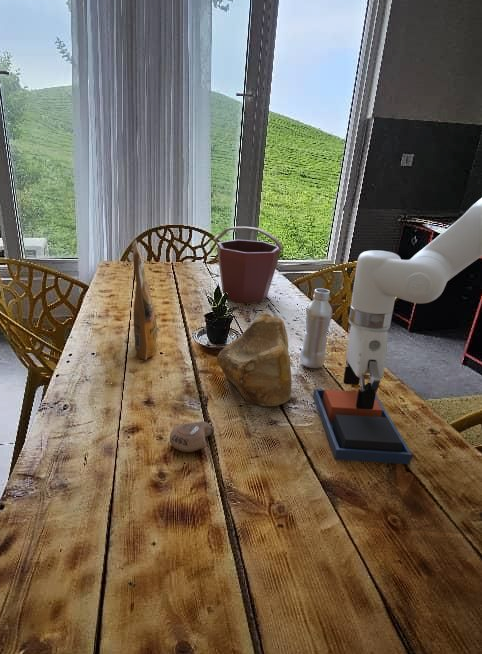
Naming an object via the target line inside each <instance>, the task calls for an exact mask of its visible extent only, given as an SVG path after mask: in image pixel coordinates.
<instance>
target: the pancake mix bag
mask: <svg viewBox="0 0 482 654" xmlns="http://www.w3.org/2000/svg"><path fill="white" fill-rule="evenodd" d="M131 247H132V252H133V253H132V254H133V255H132V256H133V258H132V259H133V260H132V261H133V271H134V277H135V289H134V290H135V291H134V301H133V335H134V348H135V352H136V353H135V354H136V355H135V356H136V357H137V358H138V359H141V360H144V361H147V360H148V359H149V358H152V357H154V355H155V353H156V346H157V338H158V323H157V317H156V311H155V307H154V302H153V297H152V292H151V288H150V284H149V280H148V277H147V276H148V275H147V272H146V269H145V268H146V267H145V264H144V260H143V258H142V254H141V251H140V248H139V247H138V244H137V239H135V240H134V241H133V243H131Z"/></svg>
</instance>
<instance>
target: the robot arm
mask: <svg viewBox="0 0 482 654" xmlns="http://www.w3.org/2000/svg"><path fill="white" fill-rule="evenodd" d="M481 257H482V197H481V198H479V199H478V200H477V201H476V202H475V203H473V204H472V205H471V206H470V207H469V208H468V209H467V210H466V211H465V213H463V215H461V216H460V217H459V218H458V219H457V220H456V221H455V222H453V223H452V224H451V225H450V226H448V227H447V228H446V229H445V230H444V231H442V232H441V233H440V234H439V235H437V236H436V237H435V238H434V239H432V240H431V241H430V242H428V244H426V245H425V246H424V247H423V248H422V249H420V250H419V251H418V252H416V253H415V254H414V255H413V256H412V257H411V258H409V259H402V258H401V256H400V255H399V254H397V253H395V252H392V251H386V250H376V249H375V250H374V249H373V250H372V249H371V250H366V251H365V250H364V251H363V252H361V253H360V254H359V255H358V258H357V261H356V268H355V274H354V280H353V281H354V282H353V288H352V293H351V303H350V309H349V315H348V323H349V325H350V328H349V334H348V339H347V346H346V355H345V356H346V360H345V368H344V375H343V380H342V382H343V384H344V385H351V386H352V385H355V386H356V385H357V386H360V388H359V389H357V391H358V395H357V401H356V408H357V409H373V407H374V401H375V396H376V395H377V393H378V389H379V387H380V386H379V385H380V384H381V380H382V379H383V378H384V375H385V369H386V361H387V353H388V340H389V333H388V331H389V329H390V328H391V325H392V319H393V318H392V317H393V313H394V307H395V302H396V298H398V299H400V300H402V301H406V302H409V303H414V304H419V305H420V304H429V303H431V302H433V301H435V300H437V299H438V298H439V297H440V296H441V295H442V293H444V290H445V288H446V286H447V283H448V281H450V280H451V279H453V278H454V277H455V276H457V275H458V274H459V273H460V272H462V271H463V270H465V269H466V268H467V267H469V266H470V265H471V264H473V263H474V262H476V261H477V260H478V259H480V258H481ZM366 380H369V382H367V383H366Z"/></svg>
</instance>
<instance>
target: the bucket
mask: <svg viewBox="0 0 482 654" xmlns="http://www.w3.org/2000/svg"><path fill="white" fill-rule="evenodd" d="M234 230H248V231H249V230H250V231H255V232H258V233H260V234H261V235H264V236H265V237H267V238H268V239H270V240H271V241H273V243H274V244H273V243H270V242H266V241H263V240H262V241H261V240H249V239H231V240H230V239H229V240H225V241H218V240H220V239H221V238H223V237H224V236H225V235H226V234H227V233H228V232H230V231H234ZM213 240H214V243H215V245H216V246H217V249H216V251H217V260H218V268H219V275H220V282H221V283H220V284H221V291H223V292H222V294H223V293H226V292H227V293H228V299H227V300H229V301H233V302H237V303H241V304H251V303H263V302H264V300H266V299H267V298H268V294H269V291H270V290H271V289H270V287H271V285H272V282H273V278H274V276H275V271H276V269H277V267H278V262H279V258H280V253H281V251H282V250H283V248H284V247H283V245H282V243H281V242H280V241H279V239H278V238H277V237H275V236H274V235H273V234H271V233H269V232H268V231H266V230H265V229H262V228H259V227H254V226H231V227H227V228H224V229H223V231H221V233H219V235H215V237H213Z"/></svg>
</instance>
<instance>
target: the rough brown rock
mask: <svg viewBox="0 0 482 654" xmlns="http://www.w3.org/2000/svg"><path fill="white" fill-rule="evenodd" d="M290 357H291V356H290V353H289V337H288V334H287V329H286V325H285V321H283V320H282V318H280V317H278V316H274V315H273V316H271V315H270V314H268V313H267V312H261V313H259V314H258V315H257V316H256V318H255V319H254V320H253V321H252V323H250V325H249V327H247V328H246V330H244V332H243V333H242V334H241V335H240V336H239V337H238V338H236V339H235V340H233V341H232V342H230V343H228V344H227V345H225V346H224V347H223V349H221V351H219V353H218V355H217V357H216V364H217V365H218V366H219V367H220V369H221V370H222V372H223V374H224V376H225V377H226V379H228V381H229V382H231V383H232V384H233V385H234V386H235V387H236V389H237V390H238V391H239V393H240V394H241V396H242V398H243V399H244V400H245V401H246V402H247V403H249V404H250V405H254V404H256V405H259V406H261V407H278V406H280V405H283V404H285V403H287V402H289V400H290V399H291V396H292V368H291V367H292V366H291V358H290Z"/></svg>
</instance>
